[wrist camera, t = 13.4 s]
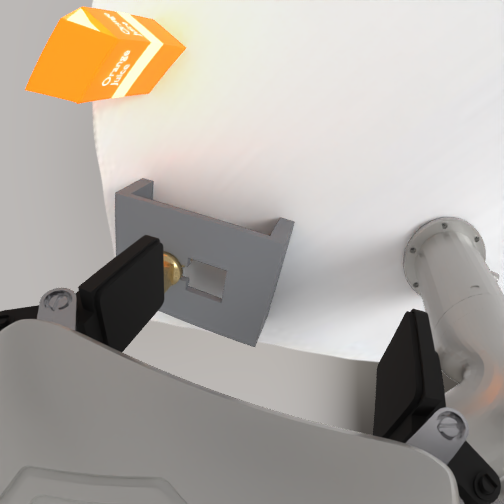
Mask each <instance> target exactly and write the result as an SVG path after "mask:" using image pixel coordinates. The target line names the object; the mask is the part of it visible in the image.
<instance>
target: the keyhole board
mask: <svg viewBox="0 0 504 504" xmlns="http://www.w3.org/2000/svg"><path fill="white" fill-rule="evenodd" d="M152 194H153V181H151V180H147V179H141V180H139V181H137V182H135V183H133V184H131V185H129V186H127V187H125V188H123V189H122V190H120V191H118V192H116V193H115V230H116V256H118V255H119V254H120V253H121V252H123V251H124V250H125V249H127V248H128V247H129V246H131V245H132V244H133V243H135V242H136V241H137V240H139V239H140V238H141V237H143V236H144V235H149V236H152V237H156V238H159V239H160V243H162V244H163V251H165V252H169V253H171V254H172V255H174V256H175V257H176V258H177V259H178V260H179V262H180V264H181V265H184V266H188V265H189V264H190V262H191V259H194V260H197V261H199V262H202V263H205V264H208V265H211V266H214V267H217V268H220V269H223V270H226V271H227V274H226V279H225V285H224V291H223V296H222V298H219V297H216V296H214V295H211V294H208V293H205V292H203V291H200V290H197V289H194V288H192V287H189V286H188V283H189V278H187V277H185V276H182V277H181V278H180V280H179V281H178V282H177V283H176V284H175V285H172V286H170V288H169V289H168V290H167V291H166V292H165V293H164V303H163V305H162V306H161V308H160V309H159V310H158V311H161V312H163V313H165V314H168V315H170V316H173V317H175V318H178V319H180V320H183V321H185V322H188V323H190V324H193V325H195V326H198V327H201V328H203V329H206V330H208V331H211V332H214V333H216V334H219V335H222V336H225V337H227V338H230V339H233V340H236V341H238V342H241V343H244V344H247V345H250V346H253V347H255V346H256V343H257V341H258V338H259V336H260V333H261V331H262V329H263V326H264V324H265V321H266V319H267V315H268V312H269V309H270V305H271V302H272V299H273V295H274V292H275V288H276V285H277V282H278V278H279V275H280V271H281V268H282V264H283V261H284V257H285V254H286V250H287V247H288V243H289V240H290V236H291V233H292V229H293V226H294V222H293V221H290V220H287V219H284V218H281V217H280V219H279V221H278V223H277V225H276V226H275V228H274V230H273V232H272V233H271V235H270V236H269V235H266V234H263V233H259V232H256V231H253V230H250V229H247V228H243V227H240V226H237V225H234V224H230V223H227V222H224V221H220V220H217V219H214V218H211V217H207V216H204V215H201V214H197V213H194V212H191V211H187V210H184V209H181V208H177V207H174V206H171V205H167V204H164V203H160V202H157V201H154V200H152Z"/></svg>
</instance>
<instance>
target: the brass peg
mask: <svg viewBox="0 0 504 504" xmlns="http://www.w3.org/2000/svg"><path fill="white" fill-rule="evenodd" d="M163 256H164V293H165V292H166V291H167V290H168V289H169V288H170V286H172V285H175V284H176V283H177V282H178V281H179V280H180V278H181V277H182V273H183V270H182V267H185V266H184V265H181V264H180V262H179V260H178V259H177V258H176V257H175V256H174V255H172V254H171V253H169V252H165V251H163ZM192 260H193V259H191V261H192Z"/></svg>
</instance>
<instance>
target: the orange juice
mask: <svg viewBox="0 0 504 504" xmlns="http://www.w3.org/2000/svg"><path fill="white" fill-rule="evenodd" d="M185 49H186V47H185V46H184V45H182V44H181V43H180V42H179V41H178V40H177V39H176V38H174V37H173V36H172V35H171V34H170V33H169V32H168V31H166V30H165V29H164V28H163V27H162V26H161V25H159V24H158V23H157V22H156V21H155V20H153V19H149V18H144V17H140V16H135V15H130V14H127V13H122V12H117V11H116V12H114V11H108V10H102V9H96V8H88V7H81V8H79V9H77V10H75V11H73V12H72V13H70V14H68V15H66V16H64V17H63V18H61V19H60V20H59V22H58V24H57V26H56V27H55V29H54V31H53V33H52V35H51V36H50V38H49V40H48V42H47V44H46V46H45V48H44V50H43V52H42V54H41V56H40V58H39V60H38V62H37V64H36V66H35V68H34V71H33V73H32V75H31V77H30V79H29V82H28V84H27V86H26V89H25V90H28V91H32V92H36V93H41V94H45V95H49V96H53V97H58V98H62V99H65V100H69V101H73V102H76V103H77V104H79V103H84V102H89V101H96V100H102V99H109V98H118V97H124V96H130V95H139V94H148V93H150V92H151V90H152V89H153V88H154V86H155V85H156V84H157V83H158V81H159V80H160V79H161V77H162V76H163V75H164V74H165V73H166V71H167V70H168V69H169V68H170V66H171V65H172V64H173V63H174V62H175V60H176V59H177V58H178V57H179V56H180V55H181V53H182V52H183V51H184V50H185Z"/></svg>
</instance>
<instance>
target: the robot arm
mask: <svg viewBox="0 0 504 504" xmlns="http://www.w3.org/2000/svg"><path fill="white" fill-rule="evenodd" d="M443 223H444V225H442V224H443ZM475 237H476V238H475ZM411 248H413V249H411ZM485 259H486V250H485V245H484V242H483V239H482V237H481V236H480V234H479V233H478V231H477V230H476V229H475V228H474V227H473V226H472V225H471V224H470V223H468V222H467V221H464V220H462V219H459V218H454V217H444V218H440V219H436V220H433V221H431V222H429V223H427V224H426V225H424V226H423V227H421V228H420V229H419V230H418V231H417V232H416V233H415V234H414V235H413V237H412V238H411V240H410V241H409V243H408V245H407V247H406V251H405V254H404V262H403V264H404V272H405V276H406V278H407V281H408V283H409V285H410V286H411V287H412V289H413V290H415V291H416V292H417V293H418V294H420V295H421V296H422V299H423V304H424V308H425V312H424V311H420V310H416V309H412V310H411V312H408V311H407V312H406V313H405V315H404V317H403V319H402V321H401V323H400V325H399V327H398V329H397V330H396V332H395V334H394V336H393V338H392V340H391V342H390V344H389V346H388V347H387V349H386V351H385V353H384V355H383V357H382V358H381V360H380V362H379V364H378V368H377V382H376V400H375V415H374V428H373V435H369V434H365V433H360V432H355V431H351V430H347V429H342V428H338V427H334V426H330V425H326V424H322V423H318V422H314V421H310V420H306V419H302V418H299V417H295V416H292V415H288V414H284V413H281V412H278V411H274V410H271V409H268V408H264V407H261V406H258V405H255V404H252V403H249V402H246V401H243V400H240V399H236V398H234V397H231V396H228V395H225V394H222V393H219V392H216V391H214V390H211V389H208V388H206V387H203V386H200V385H198V384H195V383H192V382H190V381H187V380H185V379H182V378H180V377H177V376H175V375H172V374H170V373H167V372H165V371H162V370H160V369H158V368H155V367H153V366H151V365H148V364H146V363H144V362H142V361H139V360H137V359H135V358H133V357H130V356H128V355H126V354H124V353H122V352H123V351H124V350H125V348H126V347H127V346H128V345H129V344H130V342H131V341H132V340H133V339H134V338H135V337H136V335H137V334H138V333H139V332H140V331H141V330H142V328H143V327H144V326H145V325H146V324H147V323H148V322H149V320H150V319H151V318H152V317H153V316H154V315H155V313H156V312H157V311H158V310H159V309H160V308H161V306H162V305H163V303H164V256H163V244H162V243H160V239H159V238H156V237H152V236H149V235H144V236H143V237H141V238H140V239H139V240H137V241H136V242H135V243H133V244H132V245H131V246H129V247H128V248H127V249H125V250H124V251H123V252H121V253H120V254H119V255H118V256H116V257H115V258H114V259H113V260H111V261H110V262H109V263H107V265H105V266H104V267H103V268H101V269H100V270H99V271H97V272H96V273H95V274H94V275H92V276H91V277H90V278H89V279H88V280H86V281H85V282H84V283H82V284H81V285H80V286H79V287H78V288H79V291H78V292H77V293H76V294H75V293H74V291H72V290H70V289H67V288H56V289H53V290H50V291H48V292H47V293H45V294H44V295H43V296H42V298H41V300H40V305H38V306H32V307H25V308H18V309H12V310H4V311H1V312H0V504H504V294H503V293H502V291H501V289H500V287H499V285H498V284H497V282H498V280H499V274H497V273H495V272H493V271H490V269H489V267H488V266H487V264H486V262H485ZM415 282H416V283H415ZM441 370H442V371H443V373H445V375H447V376H448V377H449V378H451V379H452V380H454V381H456V382H458V383H459V384H458V385H457V386H455V387H454V388H452V389H451V390H449V391H448V392H446V393H444V385H443V379H442V372H441Z"/></svg>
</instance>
